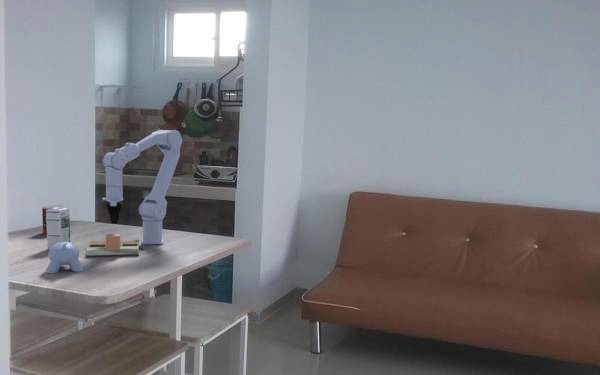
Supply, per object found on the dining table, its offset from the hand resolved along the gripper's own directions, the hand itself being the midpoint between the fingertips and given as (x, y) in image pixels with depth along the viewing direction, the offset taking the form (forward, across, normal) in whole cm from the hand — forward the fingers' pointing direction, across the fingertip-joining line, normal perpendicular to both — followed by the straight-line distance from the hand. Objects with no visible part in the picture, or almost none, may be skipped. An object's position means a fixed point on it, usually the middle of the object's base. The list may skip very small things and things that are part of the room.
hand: (114, 223), depth 218 cm
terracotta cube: (+7, +10, 0) cm, 13 cm away
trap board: (+9, +4, 0) cm, 10 cm away
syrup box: (+10, -4, -20) cm, 22 cm away
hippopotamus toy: (+10, +28, -14) cm, 33 cm away
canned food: (+10, -35, -26) cm, 44 cm away
